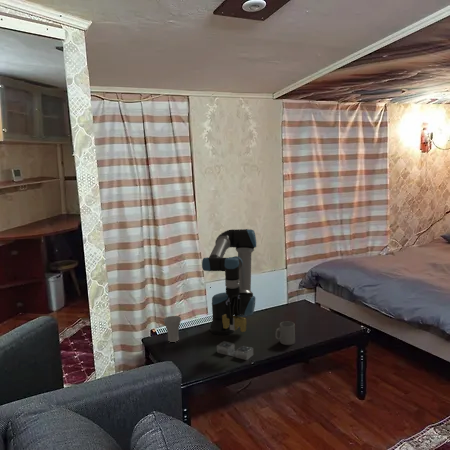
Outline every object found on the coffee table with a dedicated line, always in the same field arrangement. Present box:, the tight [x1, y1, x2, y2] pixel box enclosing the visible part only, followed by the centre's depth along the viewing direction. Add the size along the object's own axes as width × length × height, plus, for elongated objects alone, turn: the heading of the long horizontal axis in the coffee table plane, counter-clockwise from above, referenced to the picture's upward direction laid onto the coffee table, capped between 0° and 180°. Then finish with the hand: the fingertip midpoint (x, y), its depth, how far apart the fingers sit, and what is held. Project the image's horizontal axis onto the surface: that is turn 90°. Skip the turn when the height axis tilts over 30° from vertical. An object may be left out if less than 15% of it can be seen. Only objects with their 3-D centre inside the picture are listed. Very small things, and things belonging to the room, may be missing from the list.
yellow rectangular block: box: [222, 314, 248, 333], centre depth 223 cm, size 14×3×7 cm, turn 56°
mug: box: [274, 320, 296, 346], centre depth 237 cm, size 12×8×11 cm
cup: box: [162, 315, 182, 343], centre depth 245 cm, size 10×10×14 cm
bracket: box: [216, 340, 254, 361], centre depth 226 cm, size 19×7×4 cm, turn 56°
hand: (234, 328), depth 224 cm, fingers closed on yellow rectangular block, 3 cm apart
